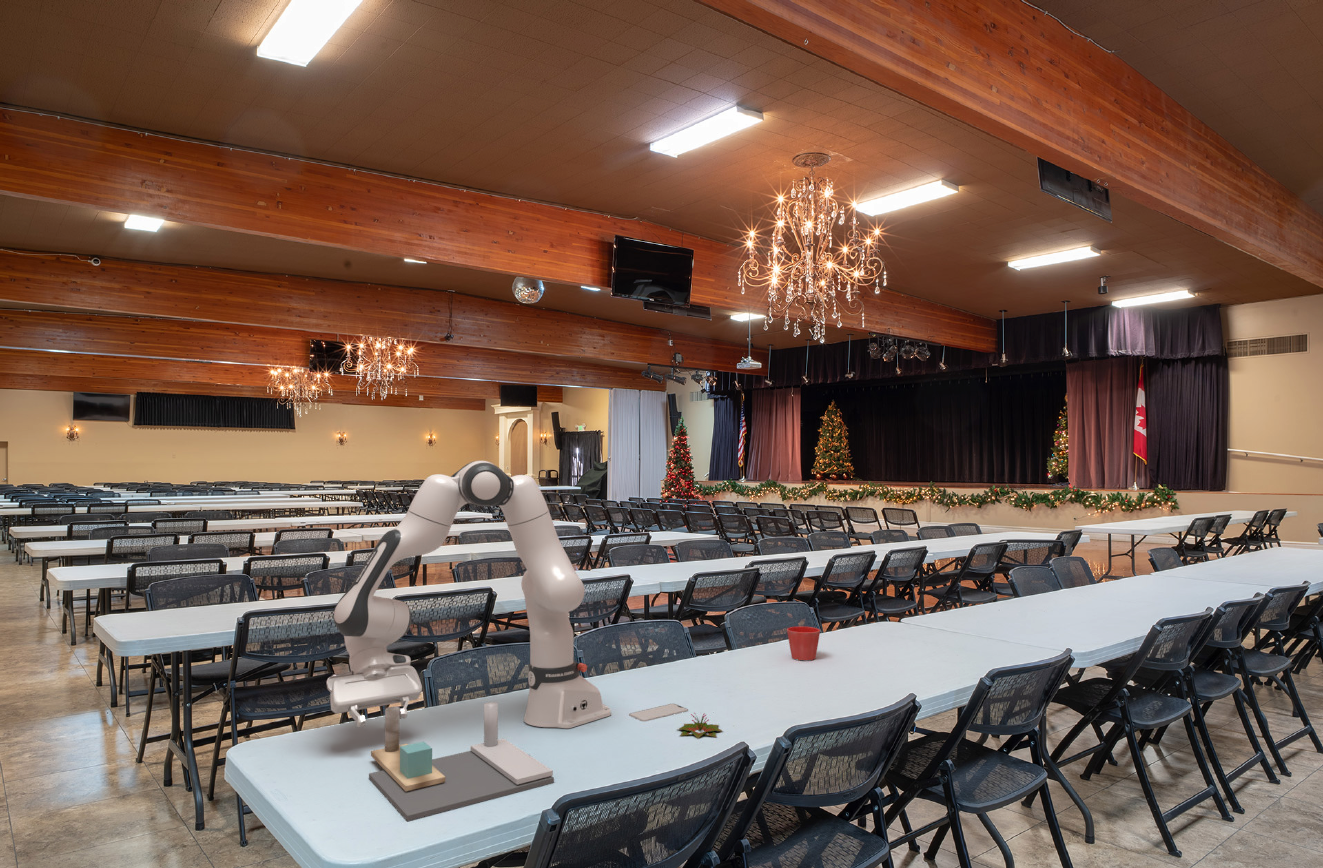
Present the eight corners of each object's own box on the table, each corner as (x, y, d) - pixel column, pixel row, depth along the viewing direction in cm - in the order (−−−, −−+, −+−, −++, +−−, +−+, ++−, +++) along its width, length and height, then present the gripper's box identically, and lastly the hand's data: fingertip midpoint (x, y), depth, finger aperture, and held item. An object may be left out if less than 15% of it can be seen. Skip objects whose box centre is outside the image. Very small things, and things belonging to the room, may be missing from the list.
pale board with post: (503, 742, 183) (503, 698, 183) (552, 775, 164) (552, 725, 164) (470, 750, 178) (470, 704, 179) (516, 784, 159) (516, 733, 159)
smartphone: (627, 713, 207) (672, 703, 216) (627, 716, 207) (672, 705, 216) (643, 721, 202) (689, 709, 210) (643, 723, 201) (689, 712, 210)
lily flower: (722, 742, 188) (722, 722, 188) (672, 740, 189) (672, 720, 189) (725, 725, 199) (725, 707, 200) (678, 723, 201) (678, 705, 201)
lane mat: (502, 747, 183) (502, 743, 183) (553, 782, 163) (553, 777, 163) (368, 778, 166) (368, 773, 166) (407, 821, 146) (407, 815, 146)
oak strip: (407, 747, 180) (407, 703, 180) (445, 781, 161) (445, 731, 161) (370, 755, 175) (371, 709, 176) (405, 791, 156) (406, 739, 156)
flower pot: (801, 653, 274) (800, 624, 275) (826, 658, 266) (826, 629, 266) (780, 657, 268) (780, 628, 268) (806, 663, 259) (805, 633, 260)
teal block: (423, 765, 167) (423, 741, 167) (432, 772, 163) (432, 748, 163) (399, 771, 164) (399, 746, 164) (407, 778, 160) (407, 753, 160)
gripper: (327, 667, 182) (337, 722, 174) (416, 655, 194) (429, 705, 186) (322, 683, 185) (332, 737, 177) (410, 670, 197) (423, 720, 189)
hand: (383, 720), depth 181 cm, fingers open, 8 cm apart
